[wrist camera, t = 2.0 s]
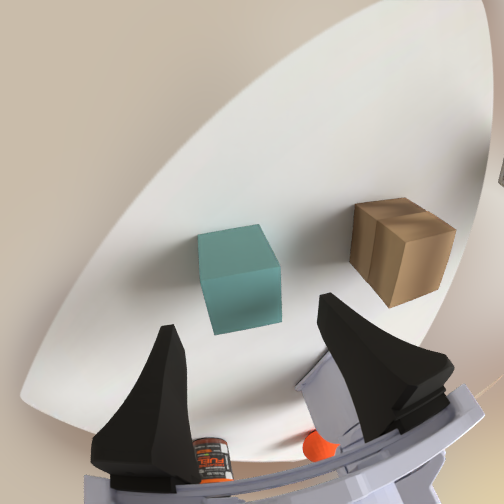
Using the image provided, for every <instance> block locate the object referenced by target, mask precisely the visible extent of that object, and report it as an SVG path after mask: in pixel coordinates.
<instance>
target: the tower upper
mask: <svg viewBox="0 0 504 504" xmlns="http://www.w3.org/2000/svg"><path fill="white" fill-rule="evenodd" d="M455 234H456V229H454V228H453V227H451V226H450V225H449V224H447V223H446V222H444V221H443V220H441V219H440V218H438V217H437V216H435V215H434V214H432V213H430V212H429V211H428V212H422V213H416V214H410V215H403V216H397V217H392V218H386V219H380V220H377V226H376V234H375V241H374V248H373V254H372V260H371V266H370V272H369V277H368V283H369V285H370V286H371V287H372V288H373V289H374V291H375V292H376V293H377V294H378V296H379V297H380V298H381V299H382V301H383V302H384V303H385V304H386V305H387V307H388V308H392V307H395V306H397V305H400V304H403V303H405V302H408V301H411V300H413V299H416V298H418V297H421V296H423V295H426V294H428V293H431V292H433V291H436V290H438V288H439V286H440V283H441V280H442V277H443V274H444V271H445V268H446V265H447V262H448V259H449V256H450V252H451V249H452V245H453V242H454V238H455Z"/></svg>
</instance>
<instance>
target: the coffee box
mask: <svg viewBox="0 0 504 504" xmlns="http://www.w3.org/2000/svg"><path fill="white" fill-rule="evenodd" d="M498 183H499V184H500V185H502V186H503V187H504V160H503V165H502V169H501V173H500V177H499V181H498Z"/></svg>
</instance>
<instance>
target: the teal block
mask: <svg viewBox="0 0 504 504" xmlns="http://www.w3.org/2000/svg"><path fill="white" fill-rule="evenodd" d="M198 254H199V273H200V283H201V287H202V291H203V295H204V299H205V302H206V306H207V310H208V314H209V317H210V321H211V325H212V328H213V332H214V335H219V334H225V333H230V332H235V331H241V330H246V329H251V328H256V327H261V326H265V325H270V324H275V323H279V322H282V301H281V268H280V264H279V262H278V260H277V258H276V256H275V255H274V253H273V251H272V249H271V247H270V245H269V243H268V241H267V239H266V237H265V235H264V233H263V231H262V229H261V227H260V225H259V224H257V225H251V226H245V227H239V228H234V229H228V230H222V231H216V232H211V233H205V234H200V235H198Z"/></svg>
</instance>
